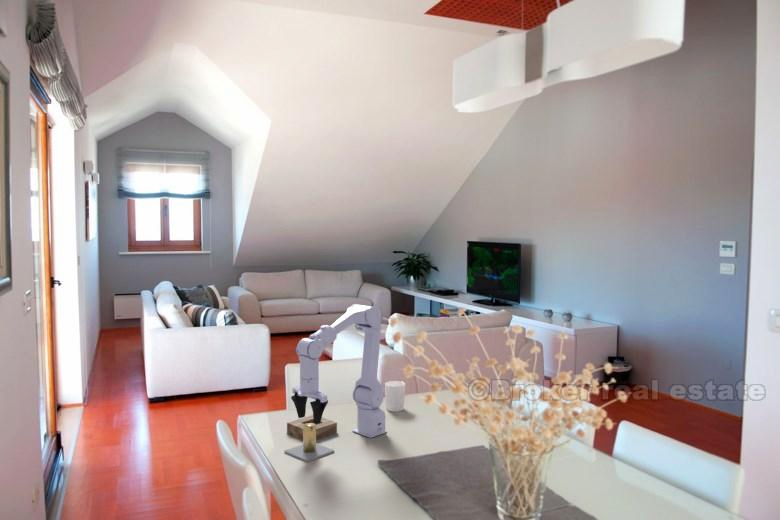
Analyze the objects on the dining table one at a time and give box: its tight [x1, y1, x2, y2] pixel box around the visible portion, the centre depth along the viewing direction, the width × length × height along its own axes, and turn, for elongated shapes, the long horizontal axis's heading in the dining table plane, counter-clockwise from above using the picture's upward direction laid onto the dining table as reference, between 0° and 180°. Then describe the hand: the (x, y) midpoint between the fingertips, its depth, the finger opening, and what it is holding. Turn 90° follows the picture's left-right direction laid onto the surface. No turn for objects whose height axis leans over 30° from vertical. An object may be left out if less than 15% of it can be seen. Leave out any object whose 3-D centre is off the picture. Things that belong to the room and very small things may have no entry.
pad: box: [283, 442, 335, 463], centre depth 189 cm, size 11×11×1 cm
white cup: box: [384, 380, 406, 413], centre depth 233 cm, size 8×8×10 cm
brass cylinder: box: [302, 423, 317, 453], centre depth 189 cm, size 4×4×8 cm
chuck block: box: [286, 414, 338, 440], centre depth 206 cm, size 12×12×4 cm
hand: (309, 420), depth 188 cm, fingers open, 7 cm apart
